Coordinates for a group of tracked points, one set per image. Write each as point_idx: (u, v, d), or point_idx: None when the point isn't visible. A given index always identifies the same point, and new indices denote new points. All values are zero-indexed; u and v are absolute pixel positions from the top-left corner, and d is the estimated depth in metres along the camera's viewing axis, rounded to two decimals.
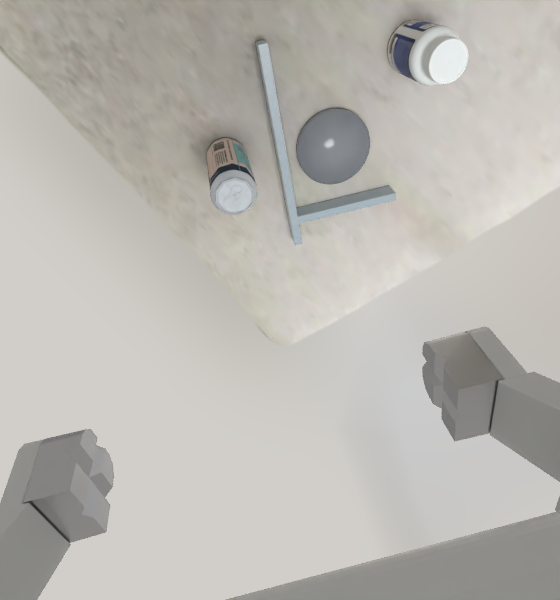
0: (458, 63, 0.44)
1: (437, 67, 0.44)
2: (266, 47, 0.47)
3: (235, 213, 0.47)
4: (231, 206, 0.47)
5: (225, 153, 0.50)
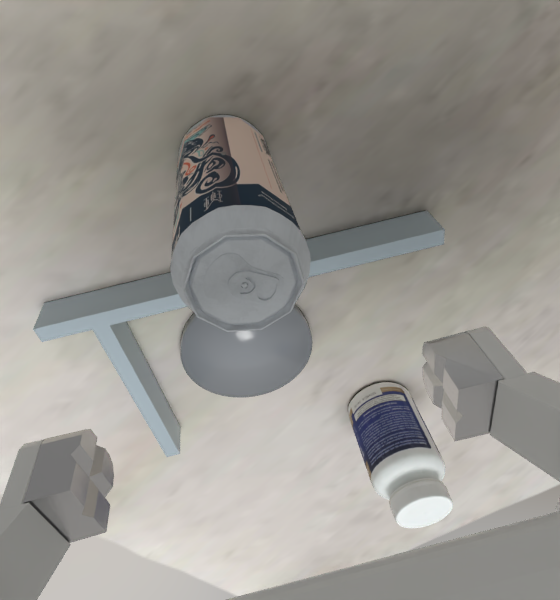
0: (420, 521, 0.32)
1: (421, 505, 0.30)
2: (437, 242, 0.27)
3: (187, 288, 0.15)
4: (211, 277, 0.15)
5: None
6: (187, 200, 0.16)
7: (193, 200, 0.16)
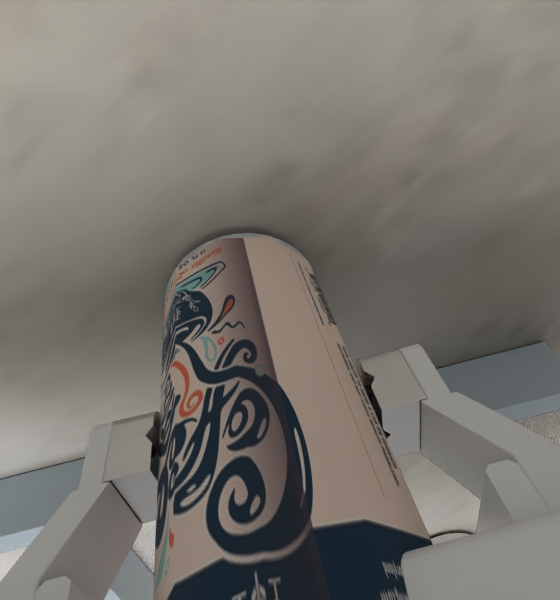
0: None
1: None
2: None
3: None
4: None
5: None
6: (187, 548, 0.07)
7: (203, 567, 0.06)
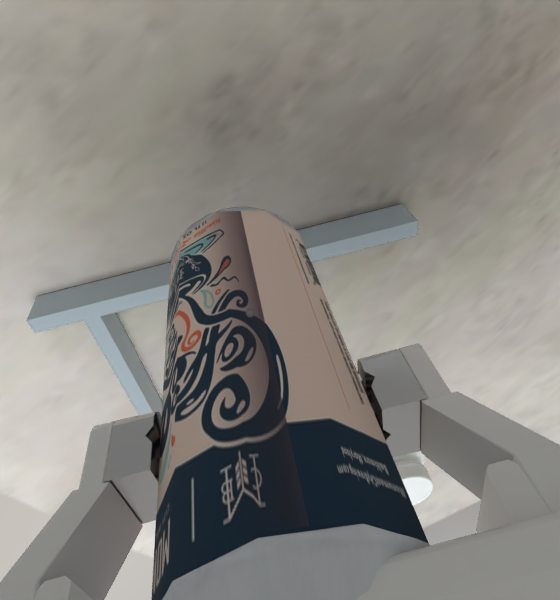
0: None
1: None
2: (412, 233, 0.28)
3: None
4: None
5: None
6: (185, 442, 0.08)
7: (198, 453, 0.08)
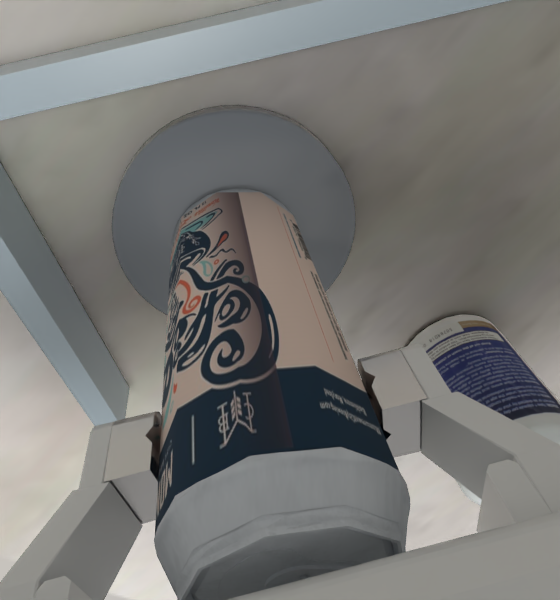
0: None
1: None
2: None
3: (185, 597, 0.08)
4: (233, 580, 0.08)
5: None
6: (186, 388, 0.09)
7: (197, 395, 0.09)
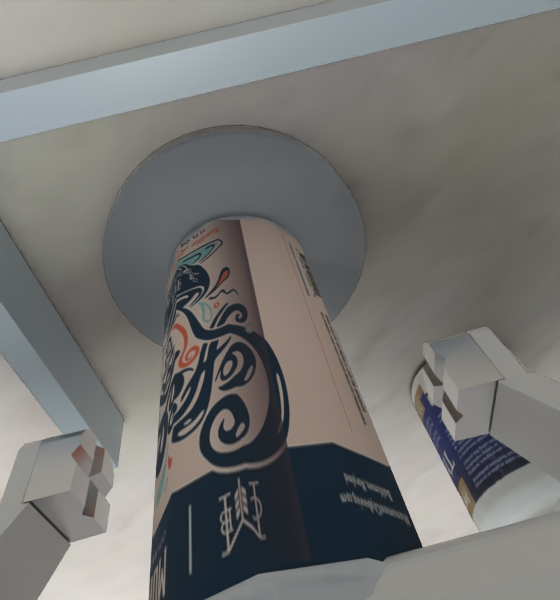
0: None
1: None
2: None
3: None
4: None
5: None
6: (182, 466, 0.08)
7: (195, 478, 0.08)
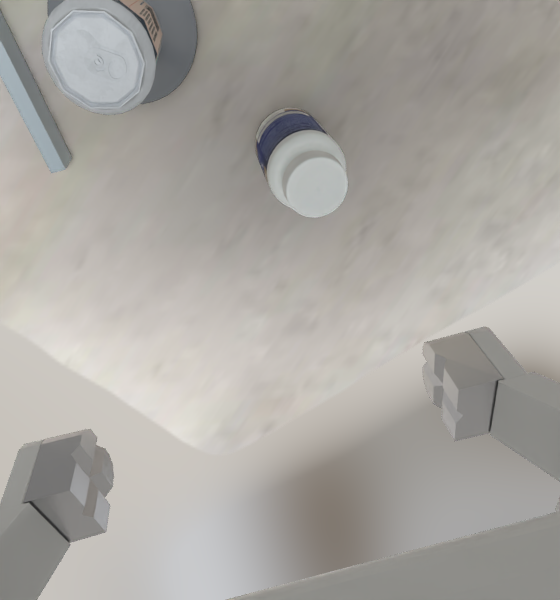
0: (315, 205, 0.29)
1: (310, 172, 0.28)
2: None
3: (52, 62, 0.20)
4: (69, 52, 0.20)
5: (156, 35, 0.25)
6: None
7: None
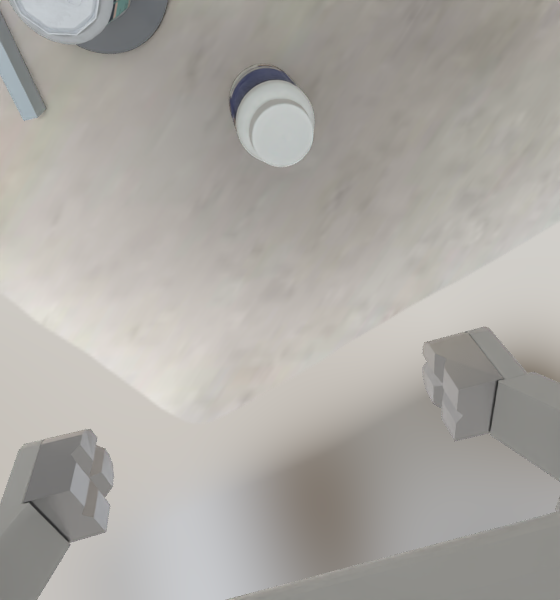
0: (281, 153, 0.30)
1: (275, 119, 0.28)
2: None
3: None
4: None
5: None
6: None
7: None
